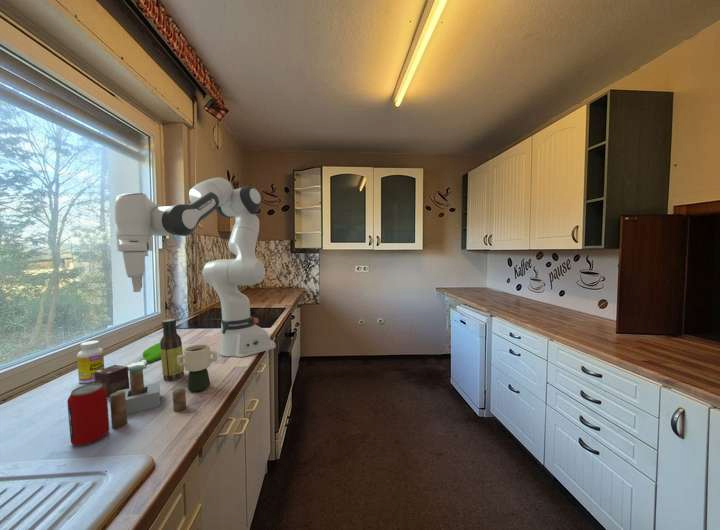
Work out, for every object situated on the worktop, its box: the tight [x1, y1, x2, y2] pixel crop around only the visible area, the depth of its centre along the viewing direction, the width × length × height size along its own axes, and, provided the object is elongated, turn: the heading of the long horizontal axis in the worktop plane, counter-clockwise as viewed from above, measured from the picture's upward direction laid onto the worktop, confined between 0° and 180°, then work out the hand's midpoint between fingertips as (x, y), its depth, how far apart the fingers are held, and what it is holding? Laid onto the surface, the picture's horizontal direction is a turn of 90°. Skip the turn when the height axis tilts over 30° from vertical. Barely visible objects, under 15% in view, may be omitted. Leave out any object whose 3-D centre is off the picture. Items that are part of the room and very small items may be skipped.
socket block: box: [117, 381, 161, 416], centre depth 85 cm, size 10×8×4 cm
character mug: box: [177, 343, 218, 392], centre depth 95 cm, size 11×7×13 cm, turn 111°
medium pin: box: [109, 391, 128, 430], centre depth 76 cm, size 3×3×8 cm
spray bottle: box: [126, 342, 161, 370], centre depth 124 cm, size 3×11×24 cm
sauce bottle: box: [159, 318, 185, 382], centre depth 103 cm, size 6×6×20 cm
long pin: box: [128, 365, 145, 396], centre depth 85 cm, size 3×3×11 cm
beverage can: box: [67, 382, 110, 446], centre depth 70 cm, size 7×7×12 cm
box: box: [94, 364, 130, 398], centre depth 94 cm, size 6×6×7 cm
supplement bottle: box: [76, 340, 105, 384], centre depth 103 cm, size 7×7×13 cm
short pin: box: [172, 388, 187, 413], centre depth 83 cm, size 3×3×5 cm
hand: (138, 290), depth 95 cm, fingers open, 8 cm apart
